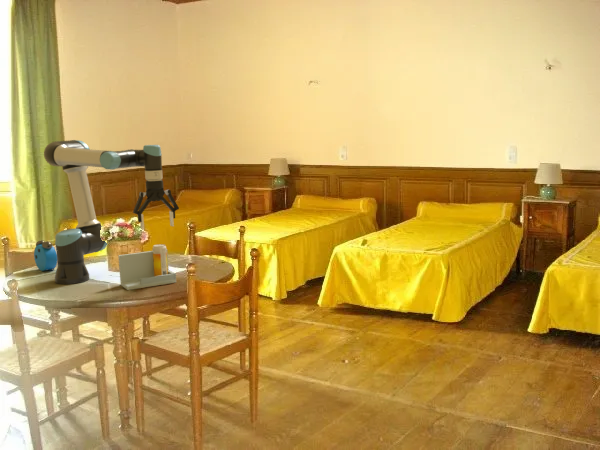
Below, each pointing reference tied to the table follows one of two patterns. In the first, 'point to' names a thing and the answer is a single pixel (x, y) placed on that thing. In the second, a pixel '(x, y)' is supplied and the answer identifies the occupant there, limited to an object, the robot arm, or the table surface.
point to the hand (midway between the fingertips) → (157, 227)
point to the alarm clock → (45, 255)
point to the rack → (141, 271)
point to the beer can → (160, 260)
